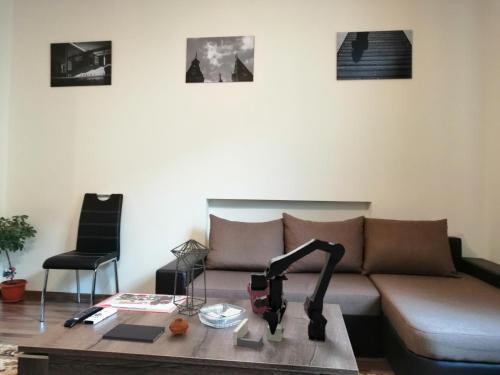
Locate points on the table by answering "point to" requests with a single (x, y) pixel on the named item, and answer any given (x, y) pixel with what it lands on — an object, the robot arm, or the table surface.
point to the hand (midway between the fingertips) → (275, 330)
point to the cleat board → (241, 332)
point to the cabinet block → (276, 333)
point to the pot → (178, 326)
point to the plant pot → (255, 295)
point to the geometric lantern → (191, 271)
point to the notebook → (134, 332)
